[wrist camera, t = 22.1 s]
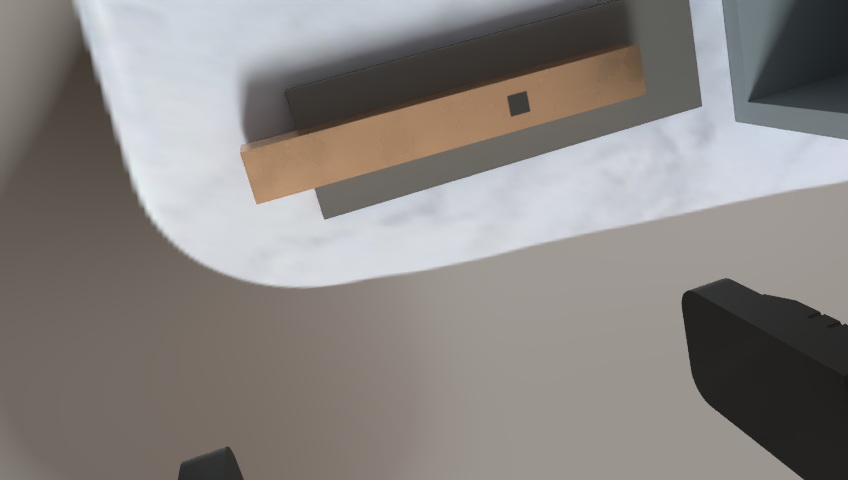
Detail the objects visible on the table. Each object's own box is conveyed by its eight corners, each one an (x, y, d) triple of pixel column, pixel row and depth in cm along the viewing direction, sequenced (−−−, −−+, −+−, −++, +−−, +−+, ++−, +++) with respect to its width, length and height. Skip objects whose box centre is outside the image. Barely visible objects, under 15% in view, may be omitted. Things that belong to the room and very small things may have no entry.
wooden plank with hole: (256, 193, 43) (256, 204, 40) (240, 145, 42) (240, 152, 40) (622, 91, 47) (646, 94, 44) (615, 44, 46) (639, 44, 43)
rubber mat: (323, 216, 46) (324, 219, 45) (285, 90, 43) (285, 91, 42) (693, 105, 49) (702, 106, 48) (677, -17, 47) (686, -18, 46)
